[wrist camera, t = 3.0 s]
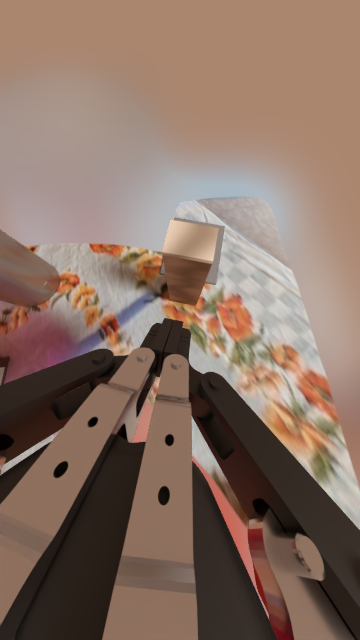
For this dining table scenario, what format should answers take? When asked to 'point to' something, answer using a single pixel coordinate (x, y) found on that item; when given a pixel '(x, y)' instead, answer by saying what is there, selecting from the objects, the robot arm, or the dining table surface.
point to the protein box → (3, 368)
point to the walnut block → (188, 259)
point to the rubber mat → (214, 268)
